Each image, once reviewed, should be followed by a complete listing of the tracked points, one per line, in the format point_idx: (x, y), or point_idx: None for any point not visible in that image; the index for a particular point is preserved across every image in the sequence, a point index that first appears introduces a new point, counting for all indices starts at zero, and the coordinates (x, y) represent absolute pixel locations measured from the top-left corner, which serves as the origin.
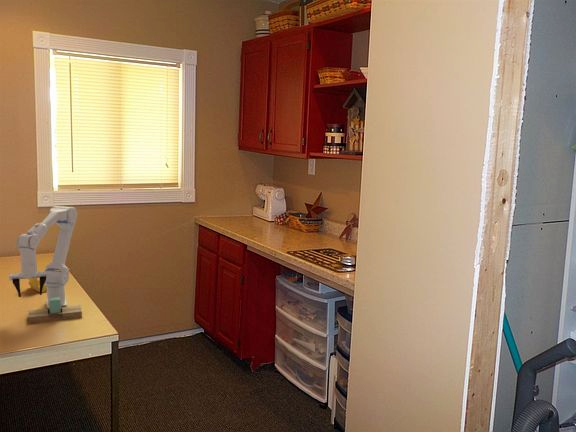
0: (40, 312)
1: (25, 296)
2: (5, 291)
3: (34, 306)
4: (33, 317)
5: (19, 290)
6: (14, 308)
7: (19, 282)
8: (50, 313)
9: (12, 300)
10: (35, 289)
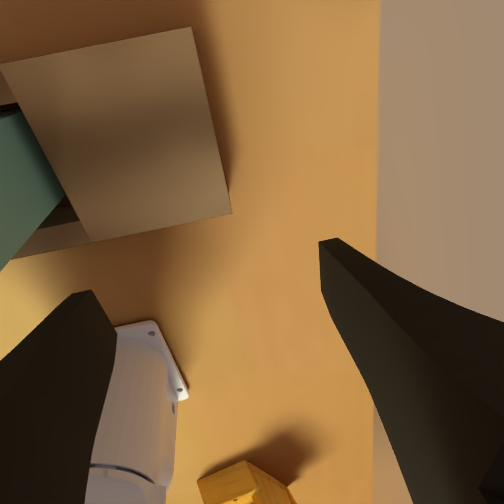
0: (117, 160)
1: (295, 431)
2: (369, 459)
3: (233, 341)
4: (143, 37)
5: (370, 285)
6: (328, 322)
7: (442, 456)
8: (3, 118)
9: (342, 399)
10: (268, 477)
